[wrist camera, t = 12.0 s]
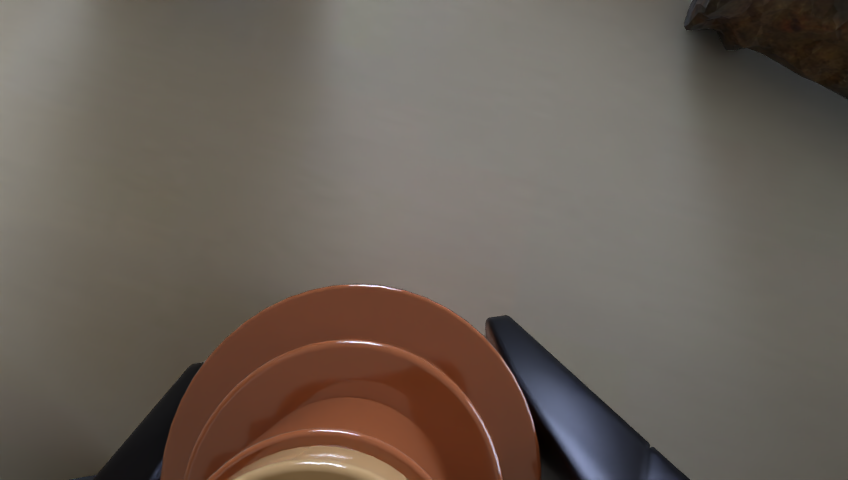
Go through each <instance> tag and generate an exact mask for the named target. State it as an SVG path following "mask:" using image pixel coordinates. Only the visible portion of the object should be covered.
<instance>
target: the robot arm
mask: <svg viewBox="0 0 848 480" xmlns="http://www.w3.org/2000/svg"><path fill="white" fill-rule="evenodd" d="M485 333H486V339H487V340H488V341H489V342H490V343H491V345H492V346H493V347H494V348H495V349H496V350H497V351H498V352H499V354H500V355H501V356H502V358H503V359H504V361H505V362H506V364H507V365H508V367H509V368H510V370H511V371H512V373H513V374H514V376H515V378H516V380H517V382H518V384H519V386H520V388H521V390H522V392H523V394H524V396H525V398H526V401H527V403H528V406H529V409H530V412H531V415H532V417H533V420H534V425H535V429H536V433H537V438H538V442H539V449H540V459H541V469H542V475H541V480H690V479H689V478H688V477H687V476H686V475H684V474H683V473H682V472H681V471H680V470H679V469H677V468H676V467H675V466H674V465H673V464H672V463H671V462H669V461H668V460H667V459H666V458H665V457H664V456H663V455H662V454H661V453H660V452H659V451H657V450H656V449H655V448H654V447H651V448H650V444H649V443H648V442H647V441H646V440H645V439H644V438H643V437H642V436H641V435H640V434H639V433H637V432H636V431H635V430H634V429H633V428H632V427H631V426H630V425H629V424H627V423H626V422H625V421H624V420H623V419H622V418H621V417H620V416H619V415H618V414H616V413H615V412H614V411H613V410H612V409H611V408H610V407H609V406H608V405H607V404H605V403H604V402H603V401H602V400H601V399H600V398H599V397H598V396H597V395H596V394H594V393H593V392H592V391H591V390H590V389H589V388H588V387H587V386H586V385H585V384H583V383H582V382H581V381H580V380H579V379H578V378H577V377H576V376H575V375H574V374H572V373H571V372H570V371H569V370H568V369H567V368H566V367H565V366H564V365H563V364H561V363H560V362H559V361H558V360H557V359H556V358H555V357H554V356H553V355H552V354H550V353H549V352H548V351H547V350H546V349H545V348H544V347H543V346H542V345H541V344H539V343H538V342H537V341H536V340H535V339H534V338H533V337H532V336H531V335H529V334H528V333H527V332H526V331H525V330H524V329H523V328H522V327H521V326H520V325H518V324H517V323H516V322H515V321H514V320H513V319H512V318H511V317H509V316H507V315H504V316H497V317H491V318H488V319H487V320H486V323H485ZM203 363H204V362H202V363H196V364H192V365H191V366H189V367H188V368H187V369H186V371H185V372H184V373H183V374H182V375H181V377H180V378H179V379H178V380H177V381H176V382H175V384H174V385H173V386H172V387H171V388H170V389H169V391H168V392H167V393H166V394H165V395H164V396H163V398H162V399H161V400H160V401H159V402H158V404H157V405H156V406H155V407H154V408H153V409H152V411H151V412H150V413H149V414H148V415H147V416H146V418H145V419H144V420H143V421H142V422H141V423H140V425H139V426H138V427H137V428H136V429H135V431H134V432H133V433H132V434H131V435H130V436H129V438H128V439H127V440H126V441H125V442H124V443H123V445H122V446H121V447H120V448H119V449H118V450H117V452H116V453H115V454H114V455H113V456H112V458H111V459H110V460H109V461H108V462H107V463H106V465H105V466H104V467H103V468H102V469H101V470H100V472H99V473H98V474H97V475H96V476H95V477H94V479H93V480H160V478H161V470H162V463H163V456H164V449H165V445H166V442H167V438H168V434H169V430H170V427H171V423H172V421H173V418H174V416H175V413H176V411H177V408H178V406H179V403H180V401H181V399H182V397H183V395H184V393H185V392H186V390H187V388H188V386H189V384H190V383H191V381H192V379H193V377H194V376H195V374H196V373H197V372H198V370H199V369H200V367H201V366H202V365H203Z"/></svg>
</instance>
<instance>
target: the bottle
mask: <svg viewBox="0 0 848 480" xmlns="http://www.w3.org/2000/svg"><path fill="white" fill-rule="evenodd" d="M541 475H542V469H541V459H540V449H539V442H538V438H537V433H536V429H535V425H534V420H533V417H532V415H531V412H530V409H529V406H528V403H527V401H526V398H525V396H524V394H523V392H522V390H521V388H520V386H519V384H518V382H517V380H516V378H515V376H514V374H513V373H512V371H511V370H510V368H509V367H508V365H507V364H506V362H505V361H504V359H503V358H502V356H501V355H500V354H499V352H498V351H497V350H496V349H495V348H494V347H493V346H492V345H491V343H490V342H489V341H488V340H487V339H486V338H485V337H484V336H483V335H482V334H481V333H480V332H479V331H478V330H476V329H475V328H474V327H473V326H472V325H471V324H470V323H468V322H467V321H466V320H465V319H463V318H462V317H460V316H459V315H457V314H456V313H454V312H453V311H451V310H450V309H448V308H446V307H444V306H442V305H440V304H438V303H436V302H434V301H432V300H430V299H428V298H426V297H423V296H420V295H418V294H415V293H412V292H409V291H406V290H402V289H397V288H392V287H387V286H382V285H369V284H346V285H333V286H328V287H323V288H318V289H313V290H309V291H306V292H303V293H300V294H297V295H294V296H291V297H288V298H286V299H284V300H282V301H280V302H277V303H275V304H273V305H271V306H269V307H267V308H265V309H264V310H262V311H261V312H259V313H258V314H256V315H254V316H253V317H251V318H250V319H248V320H247V321H245V322H244V323H243V324H242V325H240V326H239V327H238V328H237V329H236V330H234V331H233V332H232V333H231V334H230V335H228V336H227V337H226V338H225V339H224V340H223V341H222V342H221V343H220V345H219V346H218V347H217V348H216V349H215V350H214V351H213V352H212V353H211V354H210V355H209V356H208V358H207V359H206V361H205V362H204V363H203V365H202V366H201V367H200V369H199V370H198V372H197V373H196V374H195V376H194V377H193V379H192V381H191V383H190V384H189V386H188V388H187V390H186V392H185V393H184V395H183V397H182V399H181V401H180V403H179V406H178V408H177V411H176V413H175V416H174V418H173V421H172V423H171V427H170V430H169V434H168V438H167V442H166V445H165V449H164V456H163V463H162V470H161V478H160V480H541Z"/></svg>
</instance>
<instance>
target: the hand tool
mask: <svg viewBox="0 0 848 480" xmlns="http://www.w3.org/2000/svg"><path fill="white" fill-rule="evenodd" d="M684 27H685V29H686V30H702V29H708V28H711V29H714V30H717V32H718V35H719V38H720V40H721V42H722V44H723V45H724V47H725V49H726V50H733V51H735V50H738V49H740V48H749V49H752V50H754V51H757V52H759V53H761V54H763V55H765V56H767V57H769V58H771V59H773V60H774V61H776V62H778V63H780V64H782V65H783V66H785V67H787V68H788V69H790V70H792V71H793V72H795V73H797V74H799V75H800V76H802V77H805V78H807V79H810V80H812V81H814V82H817V83H819V84H821V85H822V86H824V87H826V88H828V89H830V90H832V91H834V92H835V93H837V94H839V95H841V96H843V97H844V98H846V99H848V0H692V2H691V4H690V7H689V9H688V12H687V16H686V19H685V22H684Z"/></svg>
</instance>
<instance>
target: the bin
mask: <svg viewBox="0 0 848 480" xmlns="http://www.w3.org/2000/svg"><path fill="white" fill-rule="evenodd" d="M95 476H96V475H94V476H88V477H82V478H76V479H70V480H93V479H94V477H95Z"/></svg>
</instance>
